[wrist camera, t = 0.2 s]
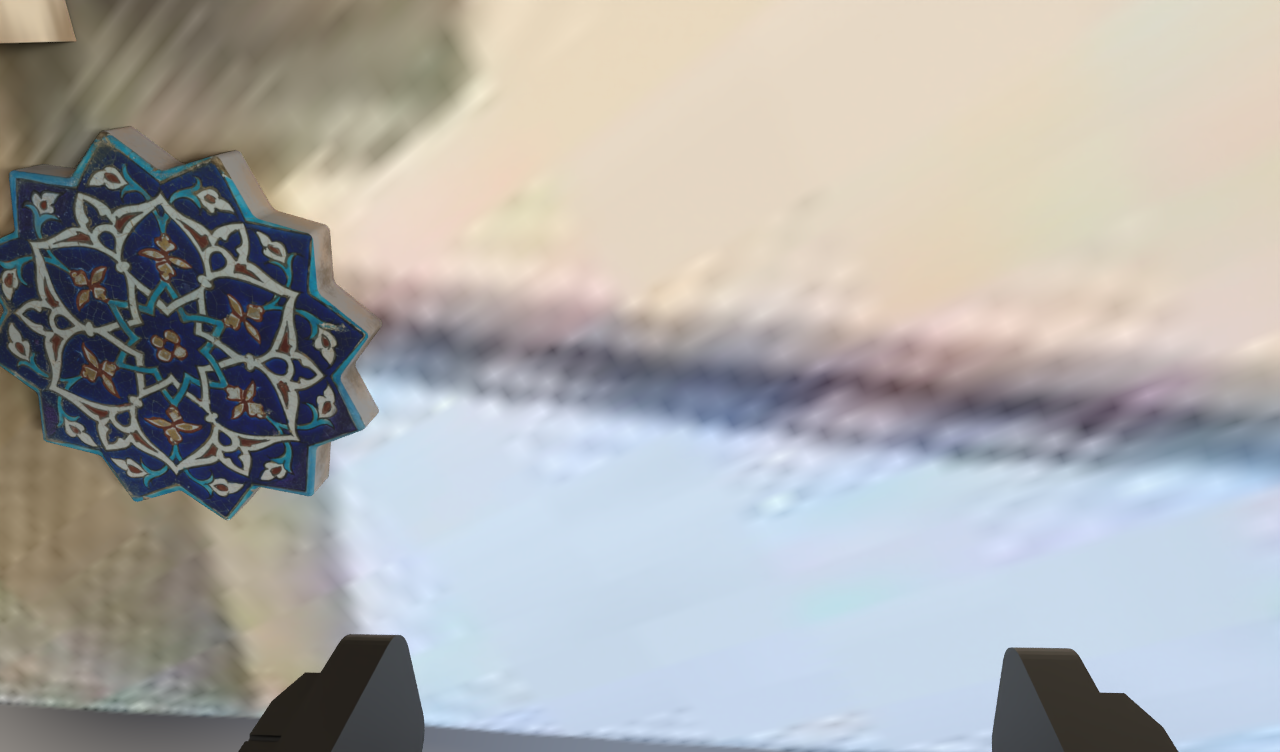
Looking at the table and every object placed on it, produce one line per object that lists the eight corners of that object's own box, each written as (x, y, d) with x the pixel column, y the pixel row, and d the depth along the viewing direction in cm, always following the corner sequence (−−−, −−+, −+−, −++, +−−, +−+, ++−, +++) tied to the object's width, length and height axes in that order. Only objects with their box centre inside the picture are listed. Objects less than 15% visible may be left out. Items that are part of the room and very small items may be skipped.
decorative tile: (378, 523, 46) (361, 547, 44) (39, 459, 47) (6, 480, 45) (389, 171, 38) (369, 180, 36) (-20, 97, 39) (-64, 101, 36)
